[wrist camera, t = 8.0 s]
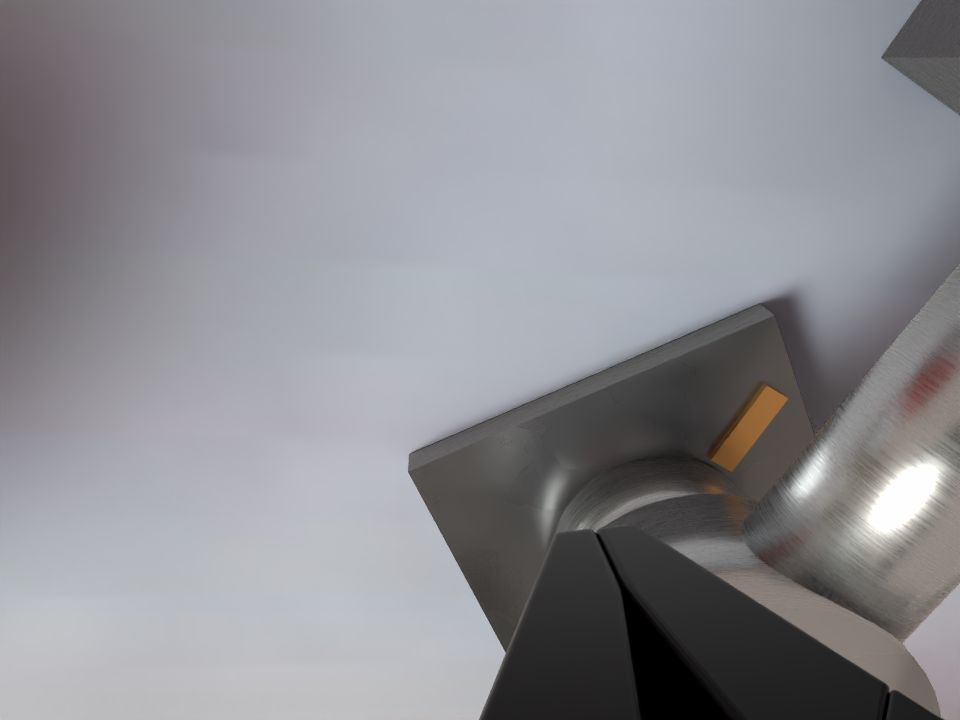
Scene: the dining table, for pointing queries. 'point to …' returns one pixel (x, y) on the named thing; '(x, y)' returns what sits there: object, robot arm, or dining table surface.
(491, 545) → the flange plate
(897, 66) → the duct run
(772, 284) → the dining table surface
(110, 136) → the dining table surface
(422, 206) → the dining table surface
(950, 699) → the dining table surface
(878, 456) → the elbow
